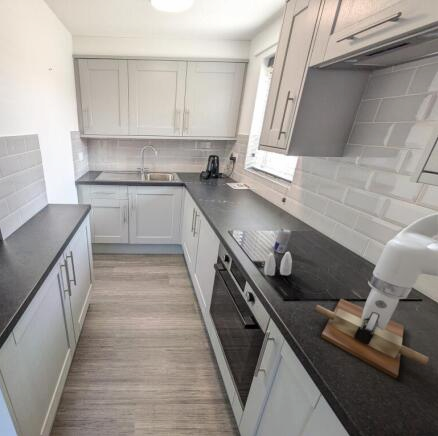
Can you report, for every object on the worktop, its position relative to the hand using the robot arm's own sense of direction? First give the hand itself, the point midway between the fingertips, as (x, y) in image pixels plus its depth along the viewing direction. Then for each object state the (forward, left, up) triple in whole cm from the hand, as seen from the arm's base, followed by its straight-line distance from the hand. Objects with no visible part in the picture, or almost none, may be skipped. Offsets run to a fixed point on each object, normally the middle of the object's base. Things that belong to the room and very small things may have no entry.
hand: (362, 335), depth 67 cm
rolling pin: (0, 0, -1) cm, 1 cm away
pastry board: (-3, -3, -3) cm, 5 cm away
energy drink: (+6, -53, -3) cm, 53 cm away
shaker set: (+13, -31, -3) cm, 34 cm away
